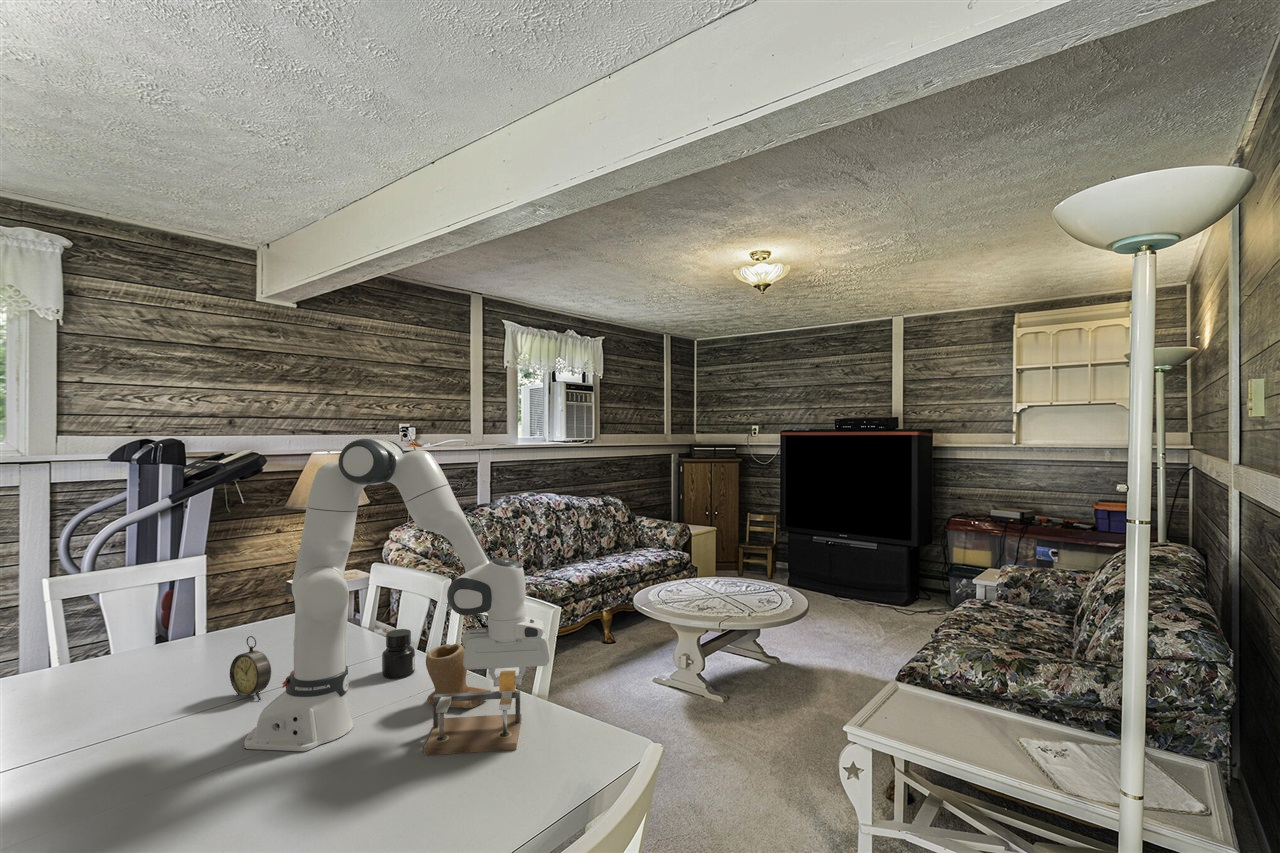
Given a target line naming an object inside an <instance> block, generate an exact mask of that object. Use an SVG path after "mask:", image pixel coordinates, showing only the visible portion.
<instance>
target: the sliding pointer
mask: <svg viewBox="0 0 1280 853" xmlns="http://www.w3.org/2000/svg"><path fill="white" fill-rule="evenodd" d="M516 671H517V670H501V671H500V672H499V676H498V677H499V686H498V687H499V690H498V691H499V693H502V696H501V699H499V700H500V701H499V704H498V705H499V706H498V707H499V708H498V710H499V711H502V715H503V733H504V734H506V733H507V715H508V710H509V711H510V710H511V706H512V703H513V702H512V701H513V698H512V692H515V690H516V687H517V685H515V676H517V675H516Z"/></svg>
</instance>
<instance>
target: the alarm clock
mask: <svg viewBox="0 0 1280 853" xmlns="http://www.w3.org/2000/svg"><path fill="white" fill-rule="evenodd" d="M250 638H251V639H253V640H254V646H252V645H251V646H250V645H249V639H250ZM246 645H247V647H248V649H249V650H248V652H244V653H240V654H238V655H236V656H235V658H234V659H233V660H232V662H231V663H230V668H229V682H230V684H231V686H232V689H233V691H234V692H236V693H235V694H236V695H235V696H237V694H239V695H238V696H241V697H249V696H251V695H255V696H256V698H257V700H258V701H261V696H260V693H261V692H262V691H263V690H265V689H266V688H267V686H268V685H269V683H270V680H271V677H272V666H271V663H270V660H269V658H268V657H267V655H266V654H264V653H263V652H262V651H260V650H254V648H256V647H257V639H256V638H255V637H254V636H253V635H249V636H248V637H247V638H246ZM259 692H260V693H259Z"/></svg>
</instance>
